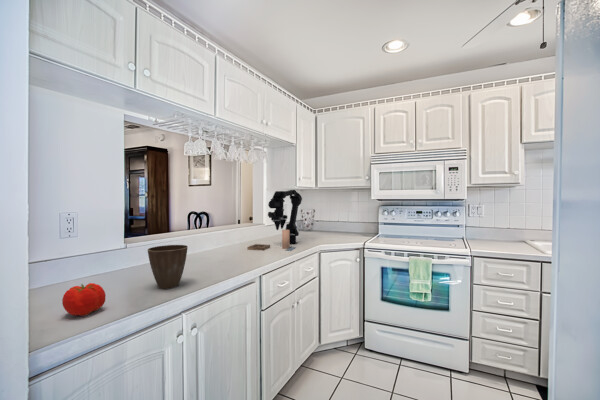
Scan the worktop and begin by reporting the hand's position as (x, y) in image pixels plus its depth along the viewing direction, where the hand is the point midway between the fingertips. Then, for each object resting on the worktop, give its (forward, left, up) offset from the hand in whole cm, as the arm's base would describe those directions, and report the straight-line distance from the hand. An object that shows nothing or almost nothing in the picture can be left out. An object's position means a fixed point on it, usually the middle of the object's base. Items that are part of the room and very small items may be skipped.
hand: (279, 229), depth 203 cm
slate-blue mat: (+6, +7, -13) cm, 16 cm away
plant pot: (+97, -12, -13) cm, 99 cm away
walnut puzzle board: (+12, -11, -13) cm, 21 cm away
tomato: (+126, -18, -13) cm, 128 cm away
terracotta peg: (+6, +7, -13) cm, 16 cm away
